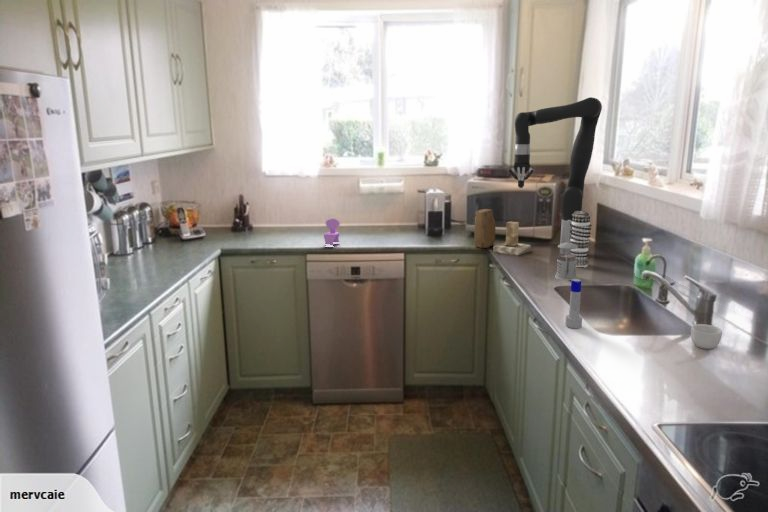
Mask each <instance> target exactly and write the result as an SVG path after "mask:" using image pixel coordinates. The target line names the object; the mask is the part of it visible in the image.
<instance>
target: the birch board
mask: <svg viewBox="0 0 768 512" xmlns="http://www.w3.org/2000/svg"><path fill="white" fill-rule="evenodd" d="M531 247H532V246H531V244H526V243H519V242H518V246H517V247H508V246H506V241H505V242H502V243H498V244H496V245H493V247H492V248H493V250H492V251H493V253H499V254H505V255H511V256H516V257H517V256H520V255H523V254H525V253H529V252H530V251H531Z"/></svg>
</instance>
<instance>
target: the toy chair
mask: <svg viewBox="0 0 768 512" xmlns="http://www.w3.org/2000/svg"><path fill="white" fill-rule="evenodd" d="M340 224H341V223H340V221H339V220H338V219H336V218H329V219H328V220H326V221H325V226H326V227H327V228H328V229H329V230H330V231H328V232H325V233H323V239H324V243H325V244H330V245H334V246H335V244H333V242H340V239H339V237H340V232H338V231H337V229H338V228H339V226H340ZM325 244H324V245H325Z"/></svg>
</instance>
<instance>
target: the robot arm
mask: <svg viewBox="0 0 768 512" xmlns="http://www.w3.org/2000/svg"><path fill="white" fill-rule="evenodd" d="M602 109H603V105H602V101H600V100H599V99H598V98H595V97H587V98H585V99H582V100H580V101H576V102H573V103H570V104H566V105H557V106H552V107H551V106H550V107H546V108H540V109H537V110H533V111H527V112H526V111H525V112H524V111H523V112H519V113H517V115H515V117H514V118H515V119H514V130H515V131H514V132H515V145H514V146H515V147H514V158H513V159H514V163H513V166H512V167H511V168H510V169H509V170H508V172H509V173H510V174H511V175H512V177H513V178H514V179H515V180H517V186H518V188H519V189H523V188H524V187H525V181H526V180H528V179H529V178H530V177H531V176H532V174H533V173H534V172H535V169H533V168H532V167H531V165H530V160H531V159H530V158H531V144H530V143H531V134H530V132H529V131H530V130H529V127H531V126H535V125H542V124H550V123H553V122H555V123H556V122H558V121H561V120H566V119H572V118H580V124H579V129H578V132H577V134H576V136H575V139H574V142H573V145H572V149H571V154H570V162H569V176H568V181H567V185H566V188H565V190H564V192H563V194H562V199H561V225H560V226H561V227H560V242H559V245H560V244H562V243H566V242H568V232H569V243H571V241H570V235H571V233H570V231H571V230H570V227H572V226H571V225H569V223H567V221H568V220H571V221H572V218H573V215H572V214H574V212H575V211H583V199H584V187H585V180H586V176H587V173H588V170H589V167H590V164H591V160H592V155H593V150H594V144H595V135H596V128H597V126H598V123H599V118H600V116H601V113H602V111H603V110H602ZM528 171H529V172H528ZM515 172H516V173H517V174H516V173H515ZM527 172H528V173H527ZM570 224H572V223H570ZM569 250H570V249H568V254H569V253H570V252H569ZM566 252H567V249H561V248H559V254H566Z"/></svg>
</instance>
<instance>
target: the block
mask: <svg viewBox="0 0 768 512" xmlns="http://www.w3.org/2000/svg"><path fill="white" fill-rule="evenodd" d="M473 236H474V237H473V238H474V239H473V240H474V241H473V242H474V246H475V247H477V248H479V249H488V248H491V247H492V246H494V243H495V241H496V221H495V217H494V212H493V209H491V208H490V209H488V208H484V209H479V210H476V211H475V217H474V234H473ZM490 246H491V247H490Z"/></svg>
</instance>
